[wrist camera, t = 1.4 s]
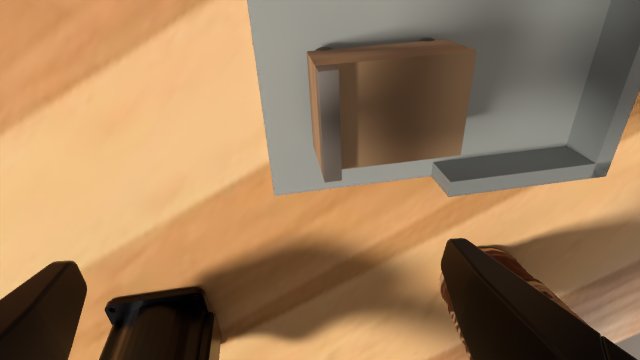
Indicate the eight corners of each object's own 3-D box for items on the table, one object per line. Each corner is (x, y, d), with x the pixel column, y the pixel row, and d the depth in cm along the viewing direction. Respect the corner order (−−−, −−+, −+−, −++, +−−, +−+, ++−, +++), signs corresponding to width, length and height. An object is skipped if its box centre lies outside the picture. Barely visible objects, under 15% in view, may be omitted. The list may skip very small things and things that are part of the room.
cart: (311, 140, 21) (324, 184, 17) (304, 45, 19) (318, 69, 14) (428, 127, 22) (470, 166, 18) (438, 33, 19) (489, 53, 15)
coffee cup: (509, 213, 27) (691, 390, 16) (543, 275, 31) (706, 452, 19) (406, 275, 28) (503, 476, 17) (451, 326, 32) (552, 516, 21)
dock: (274, 193, 23) (276, 219, 21) (243, -30, 17) (240, -29, 14) (572, 156, 25) (605, 176, 22) (641, -56, 19) (696, -59, 16)
